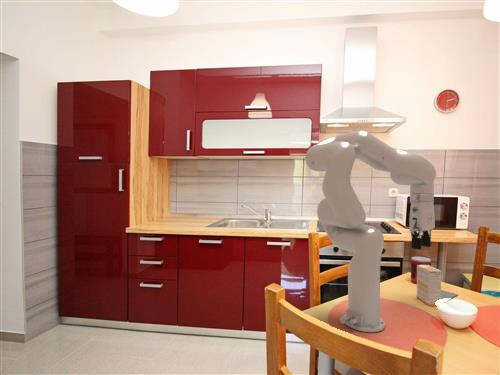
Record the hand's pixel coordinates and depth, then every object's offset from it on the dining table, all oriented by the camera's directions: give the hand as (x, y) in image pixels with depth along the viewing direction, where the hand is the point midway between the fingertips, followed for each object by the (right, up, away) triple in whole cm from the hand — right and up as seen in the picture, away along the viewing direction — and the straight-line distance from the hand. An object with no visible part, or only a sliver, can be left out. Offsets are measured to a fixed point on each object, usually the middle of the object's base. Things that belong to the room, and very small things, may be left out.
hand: (421, 247), depth 109 cm
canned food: (+15, -21, +25) cm, 36 cm away
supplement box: (+5, -22, +4) cm, 23 cm away
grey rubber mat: (+13, -21, +10) cm, 27 cm away
